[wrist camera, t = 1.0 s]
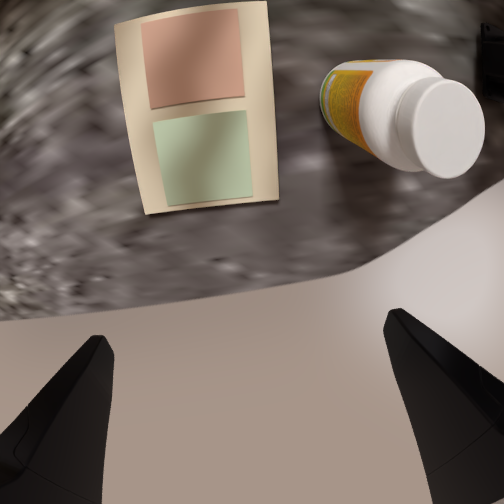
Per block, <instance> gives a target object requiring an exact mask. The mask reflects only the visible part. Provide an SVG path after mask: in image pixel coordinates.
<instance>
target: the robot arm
mask: <svg viewBox="0 0 504 504" xmlns="http://www.w3.org/2000/svg"><path fill="white" fill-rule="evenodd" d="M486 28H487V29H486ZM481 37H482V56H483V95H484V97H485V98H488V99H491V100H495V101H498V102H501V103H504V31H502V30H500V29H499V28H497V27H495V26H493V25H491V24H489V23H486V22H483V23H481ZM383 332H384V337H385V341H386V345H387V349H388V353H389V356H390V361H391V364H392V368H393V372H394V375H395V378H396V381H397V384H398V387H399V390H400V392H401V395H402V398H403V401H404V404H405V407H406V410H407V413H408V415H409V419H410V422H411V425H412V428H413V432H414V435H415V438H416V441H417V445H418V448H419V451H420V455H421V459H422V462H423V466H424V469H425V473H426V476H427V477H426V478H427V481H428V485H429V489H430V494H431V498H432V502H433V504H504V383H503V382H502V381H500V380H499V379H497V378H496V377H495V376H493V375H492V374H491V373H489V372H488V371H487V370H485V369H484V368H482V367H481V366H479V365H478V364H477V363H476V362H474V361H473V360H472V359H471V358H469V357H468V356H466V355H465V354H464V353H463V352H461V351H460V350H459V349H457V348H456V347H455V346H453V345H452V344H451V343H449V342H447V341H446V340H445V339H444V338H442V337H441V336H440V335H438V334H437V333H436V332H434V331H433V330H431V329H430V328H429V327H427V326H426V325H425V324H423V323H422V322H420V321H419V320H418V319H416V318H415V317H413V316H412V315H411V314H409V313H408V312H406V311H405V310H403V309H402V308H398V309H392V310H390V311H389V312H388V315H387V318H386V321H385V324H384V328H383ZM113 370H114V353H113V350H112V348H111V347H110V345H109V343H108V341H107V339H106V338H105V337H104V336H103V335H93V336H91V337H90V338H89V339H88V340H87V341H86V342H85V343H84V344H83V345H82V346H81V347H80V348H79V349H78V350H77V352H76V353H75V354H74V355H73V356H72V357H71V358H70V359H69V360H68V361H67V362H66V363H65V364H64V365H63V367H62V368H61V369H60V370H59V371H58V372H57V373H56V374H55V375H54V376H53V377H52V378H51V379H50V381H49V382H48V383H47V384H46V385H45V386H44V387H43V388H42V389H41V390H40V392H39V393H38V394H37V395H36V396H35V397H34V398H33V400H32V401H31V402H30V403H29V404H28V406H26V407H25V409H24V410H23V411H22V412H21V413H20V414H19V415H18V417H17V418H16V419H15V420H14V421H13V422H12V423H11V424H10V425H9V426H8V427H7V428H6V429H5V430H4V431H3V432H2V434H0V504H102V484H103V470H104V458H105V448H106V439H107V431H108V423H109V415H110V408H111V401H112V386H113Z"/></svg>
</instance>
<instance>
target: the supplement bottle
mask: <svg viewBox="0 0 504 504" xmlns="http://www.w3.org/2000/svg"><path fill="white" fill-rule="evenodd" d="M320 107H321V111H322V114H323V116H324V118H325V120H326V122H327V123H328V124H329V126H330V127H331V128H332V129H333V130H334V131H335V132H337V133H338V134H339V135H341V136H343V137H344V138H346V139H348V140H349V141H351V142H353V143H355V144H356V145H358V146H359V147H361V148H363V149H364V150H366V151H368V152H369V153H371V154H372V155H374V156H375V157H377V158H378V159H380V160H381V161H383V162H384V163H386V164H388V165H390V166H392V167H394V168H396V169H399V170H403V171H409V172H417V171H423V170H425V171H427V172H428V173H430V174H432V175H434V176H436V177H439V178H445V179H449V178H454V177H457V176H460V175H462V174H463V173H465V172H466V171H467V170H468V169H469V168H470V167H471V166H472V165H473V164H474V162H475V161H476V159H477V158H478V156H479V154H480V151H481V148H482V145H483V141H484V134H485V122H484V116H483V112H482V109H481V106H480V104H479V102H478V100H477V99H476V97H475V96H474V94H473V93H472V92H471V91H470V90H469V89H468V88H467V87H466V86H464V85H463V84H461V83H459V82H456V81H453V80H448V79H444V78H443V77H442V76H441V75H440V74H439V73H438V72H437V71H435V70H434V69H433V68H431V67H429V66H427V65H425V64H423V63H420V62H417V61H411V60H358V61H350V62H346V63H343V64H340V65H338V66H336V67H335V68H334V69H332V70H331V71H330V72H329V73H328V75H327V76H326V78H325V79H324V81H323V83H322V86H321V90H320Z"/></svg>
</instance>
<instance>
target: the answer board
mask: <svg viewBox="0 0 504 504" xmlns="http://www.w3.org/2000/svg"><path fill="white" fill-rule="evenodd" d="M114 30H115V42H116V52H117V62H118V70H119V78H120V86H121V93H122V100H123V106H124V113H125V119H126V125H127V130H128V136H129V141H130V147H131V152H132V157H133V162H134V167H135V171H136V176H137V181H138V185H139V189H140V194H141V198H142V202H143V206H144V211H145V215H146V214H153V213H160V212H168V211H176V210H184V209H192V208H200V207H209V206H218V205H227V204H237V203H247V202H257V201H268V200H279V187H278V163H277V143H276V124H275V107H274V91H273V76H272V62H271V48H270V36H269V24H268V12H267V1H255V2H236V3H224V4H214V5H206V6H198V7H191V8H185V9H179V10H173V11H168V12H163V13H158V14H154V15H149V16H145V17H141V18H137V19H133V20H130V21H126V22H122V23H119V24H116V25H114Z"/></svg>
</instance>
